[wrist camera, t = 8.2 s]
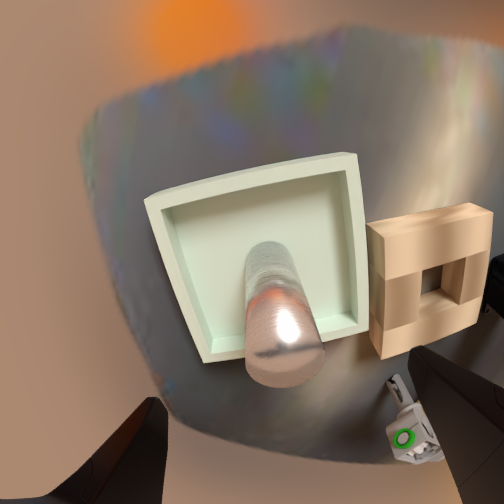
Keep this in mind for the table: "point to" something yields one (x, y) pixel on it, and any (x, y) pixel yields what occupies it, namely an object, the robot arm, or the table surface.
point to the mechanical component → (411, 429)
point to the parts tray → (259, 230)
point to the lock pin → (278, 320)
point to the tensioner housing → (410, 275)
